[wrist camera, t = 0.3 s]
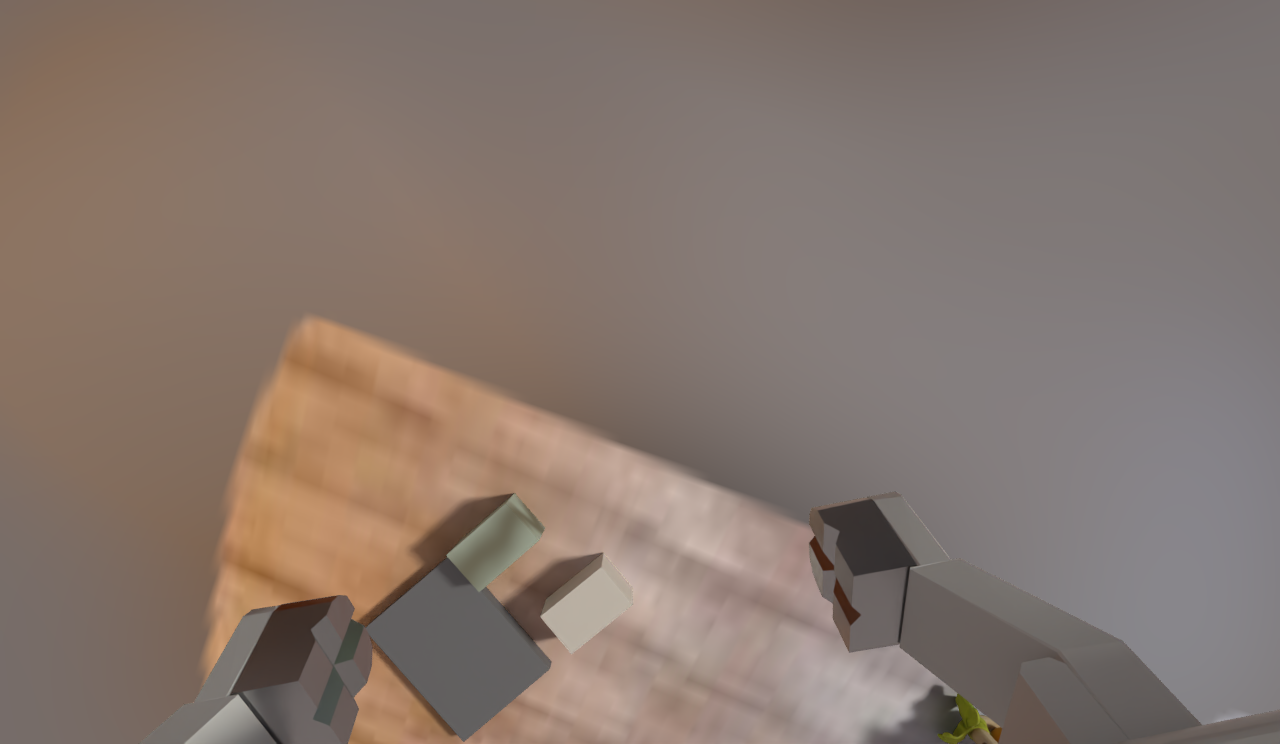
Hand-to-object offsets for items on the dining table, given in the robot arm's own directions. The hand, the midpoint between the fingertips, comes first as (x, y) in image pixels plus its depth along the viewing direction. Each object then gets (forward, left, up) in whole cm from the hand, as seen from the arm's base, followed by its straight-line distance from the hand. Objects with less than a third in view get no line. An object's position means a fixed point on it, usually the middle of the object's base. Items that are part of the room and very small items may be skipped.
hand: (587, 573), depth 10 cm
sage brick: (-3, +20, -53) cm, 57 cm away
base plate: (-9, +31, -53) cm, 62 cm away
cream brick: (-14, +17, -53) cm, 58 cm away
